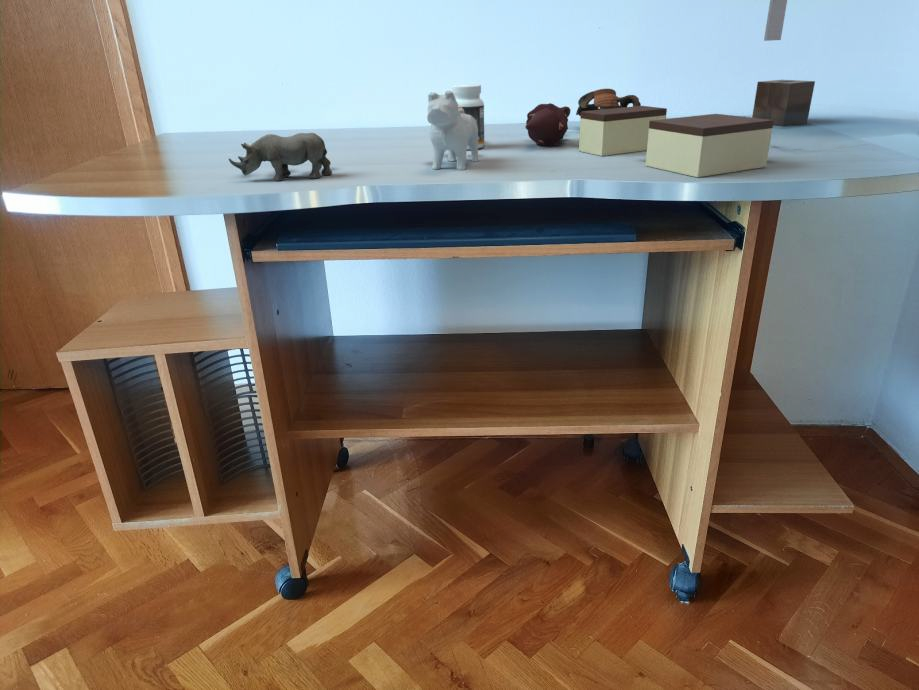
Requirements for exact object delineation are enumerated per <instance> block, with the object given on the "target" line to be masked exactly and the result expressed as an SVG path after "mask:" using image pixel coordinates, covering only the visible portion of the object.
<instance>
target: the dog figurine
mask: <svg viewBox="0 0 919 690" xmlns="http://www.w3.org/2000/svg"><path fill="white" fill-rule="evenodd" d="M427 101H428V104H427V116H426V119H427V122H428V124H430V128H429V129H430V130H429V138H430V142H431V145H432V147H433V159H432V166H431V168H432V170H441V169H442V164H443V160H444V155H445V153H446V151H448V154H447V155H448V156H447V161H448V162H456V170H459V171H463V170H466V169H467V168H466V164H467V163H466V160H467V150H466V148H467V146H469V147H470V153H471V161H472V162H479V149H478V127H477V123H476V121H475V120H474V118H473V117H472V116H471V115H468V114H465V113H464V109H462V108H460V109H458V103H457V101H456V99H455V96H454V94H453V91H451V90H446V91H445V92H444V94H442V93H441V94H438V93H437V92H432V91H431V92H429V93H428V95H427Z"/></svg>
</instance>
